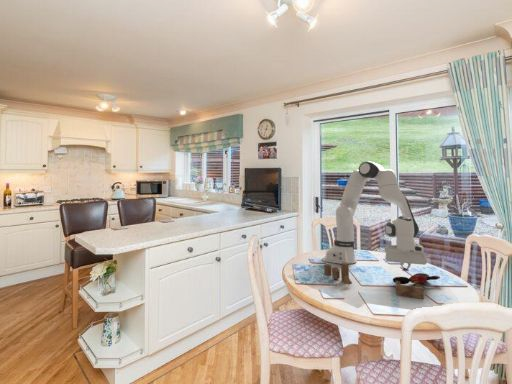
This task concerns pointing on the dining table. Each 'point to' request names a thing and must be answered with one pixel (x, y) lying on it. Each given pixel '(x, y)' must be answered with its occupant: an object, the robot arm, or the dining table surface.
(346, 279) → the wooden block set
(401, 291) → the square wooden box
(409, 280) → the toy motorcycle
